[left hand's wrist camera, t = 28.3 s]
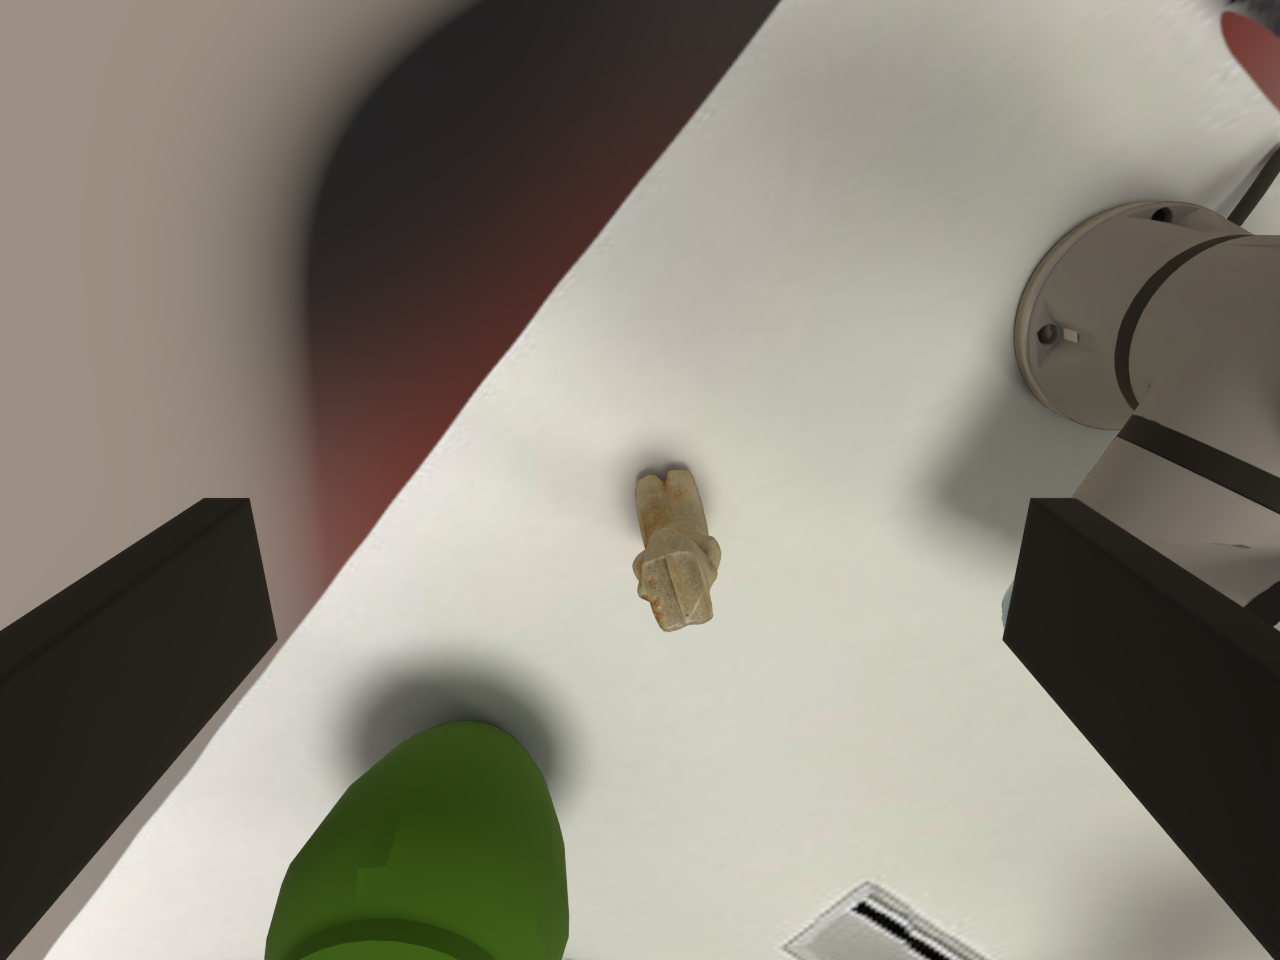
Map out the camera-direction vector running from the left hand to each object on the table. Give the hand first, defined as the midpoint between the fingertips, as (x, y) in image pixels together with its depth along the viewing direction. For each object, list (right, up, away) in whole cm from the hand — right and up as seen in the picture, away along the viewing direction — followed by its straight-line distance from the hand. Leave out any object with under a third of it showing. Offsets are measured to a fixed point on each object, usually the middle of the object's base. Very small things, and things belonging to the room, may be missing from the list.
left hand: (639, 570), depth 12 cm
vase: (-14, -23, +52) cm, 58 cm away
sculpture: (+2, -1, +44) cm, 44 cm away
